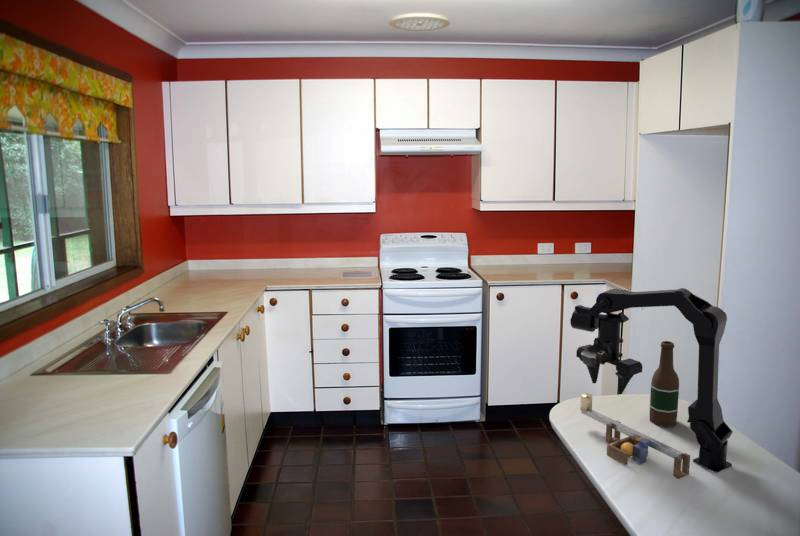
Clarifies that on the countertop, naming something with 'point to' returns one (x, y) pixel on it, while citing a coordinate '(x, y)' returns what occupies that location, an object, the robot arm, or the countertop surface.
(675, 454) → the rod
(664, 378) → the beer bottle
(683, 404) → the countertop surface
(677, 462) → the block
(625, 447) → the ball
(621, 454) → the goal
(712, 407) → the robot arm
